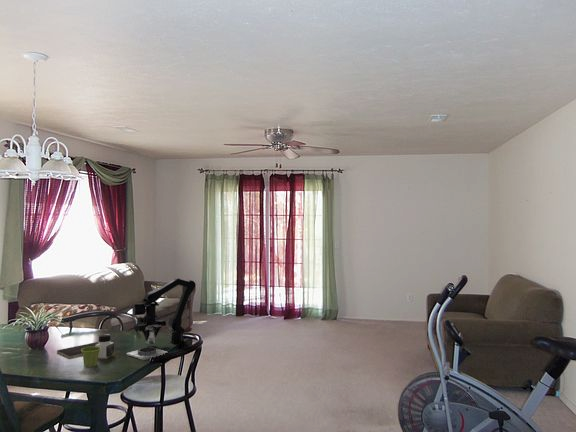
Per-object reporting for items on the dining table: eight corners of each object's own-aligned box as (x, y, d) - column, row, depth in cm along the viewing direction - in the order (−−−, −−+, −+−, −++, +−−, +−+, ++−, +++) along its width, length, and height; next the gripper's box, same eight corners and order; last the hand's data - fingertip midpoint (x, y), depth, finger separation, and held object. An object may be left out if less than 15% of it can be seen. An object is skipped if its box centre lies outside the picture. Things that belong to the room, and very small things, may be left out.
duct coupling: (151, 341, 274) (151, 328, 274) (156, 342, 271) (156, 329, 271) (144, 343, 270) (144, 329, 270) (149, 344, 267) (149, 331, 267)
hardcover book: (109, 350, 263) (109, 346, 263) (69, 359, 246) (69, 355, 246) (96, 345, 274) (96, 341, 274) (57, 353, 257) (57, 349, 257)
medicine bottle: (106, 358, 246) (106, 336, 246) (94, 358, 247) (95, 336, 247) (114, 355, 253) (114, 333, 253) (102, 354, 254) (102, 333, 254)
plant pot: (97, 361, 241) (97, 345, 241) (102, 366, 233) (102, 349, 234) (78, 365, 235) (78, 348, 235) (83, 369, 228) (83, 352, 228)
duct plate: (150, 348, 266) (150, 344, 266) (167, 353, 256) (167, 349, 256) (126, 354, 253) (126, 350, 253) (143, 360, 243) (143, 355, 243)
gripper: (155, 309, 283) (155, 334, 283) (129, 314, 268) (129, 340, 268) (166, 311, 276) (166, 337, 276) (140, 316, 261) (140, 343, 261)
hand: (150, 339), depth 270 cm, fingers closed on duct coupling, 5 cm apart
